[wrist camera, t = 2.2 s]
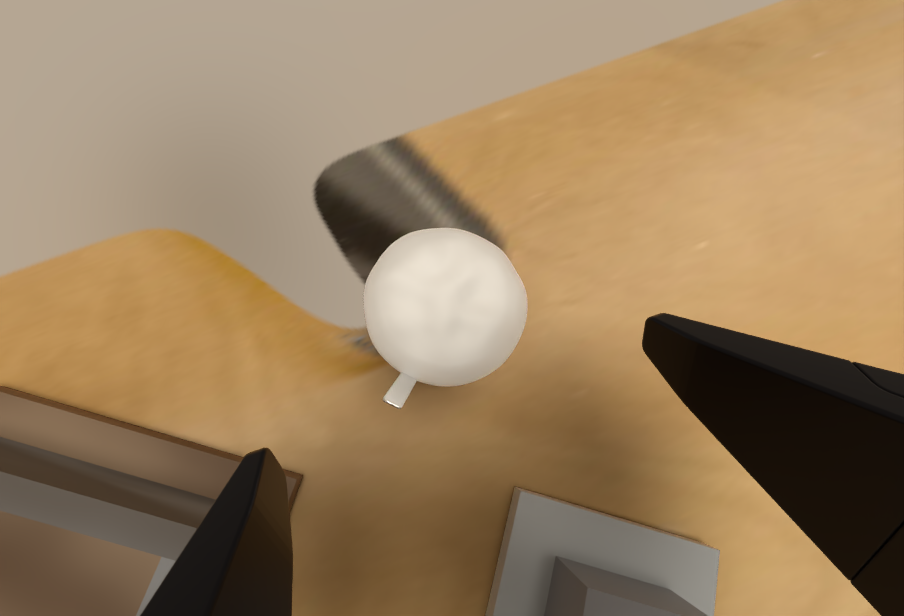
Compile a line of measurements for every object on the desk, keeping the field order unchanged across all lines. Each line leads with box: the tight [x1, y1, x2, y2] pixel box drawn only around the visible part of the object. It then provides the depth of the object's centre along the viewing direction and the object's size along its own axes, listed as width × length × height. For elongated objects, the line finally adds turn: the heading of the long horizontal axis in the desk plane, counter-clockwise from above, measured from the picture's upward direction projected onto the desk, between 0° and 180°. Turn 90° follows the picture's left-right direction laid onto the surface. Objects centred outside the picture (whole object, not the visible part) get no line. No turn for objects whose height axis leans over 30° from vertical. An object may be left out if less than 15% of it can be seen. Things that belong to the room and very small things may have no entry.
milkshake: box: [363, 228, 527, 409], centre depth 14 cm, size 4×5×10 cm
